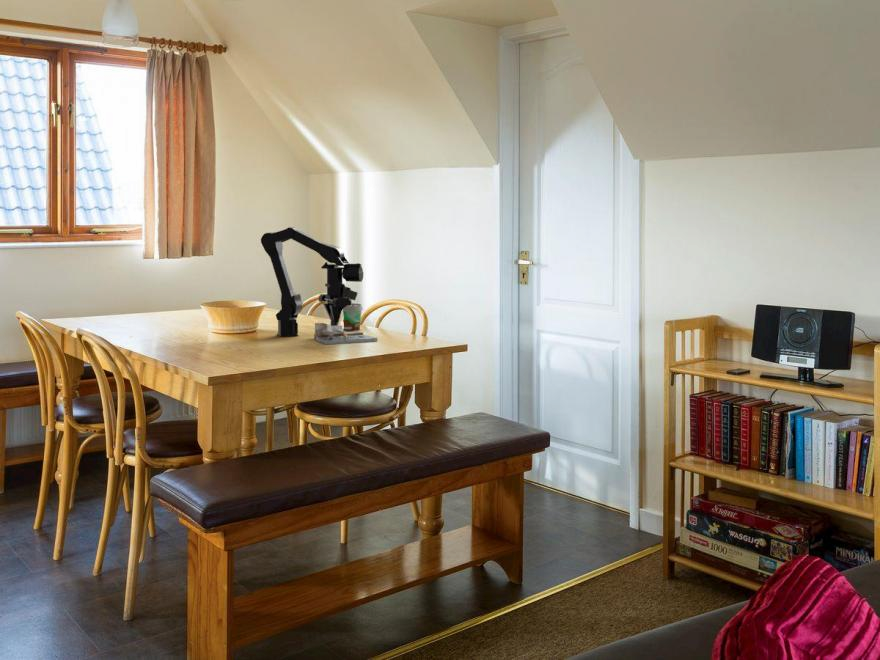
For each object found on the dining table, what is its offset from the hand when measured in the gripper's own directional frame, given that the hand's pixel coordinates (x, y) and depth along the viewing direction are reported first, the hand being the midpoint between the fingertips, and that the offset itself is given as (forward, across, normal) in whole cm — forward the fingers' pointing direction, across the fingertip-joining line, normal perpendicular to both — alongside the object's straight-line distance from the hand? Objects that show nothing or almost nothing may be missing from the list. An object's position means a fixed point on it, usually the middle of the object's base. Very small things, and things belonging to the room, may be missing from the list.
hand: (334, 322), depth 338 cm
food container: (+6, +18, -16) cm, 25 cm away
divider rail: (+5, -4, -2) cm, 7 cm away
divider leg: (+4, -4, 0) cm, 6 cm away
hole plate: (+6, -10, -1) cm, 11 cm away
